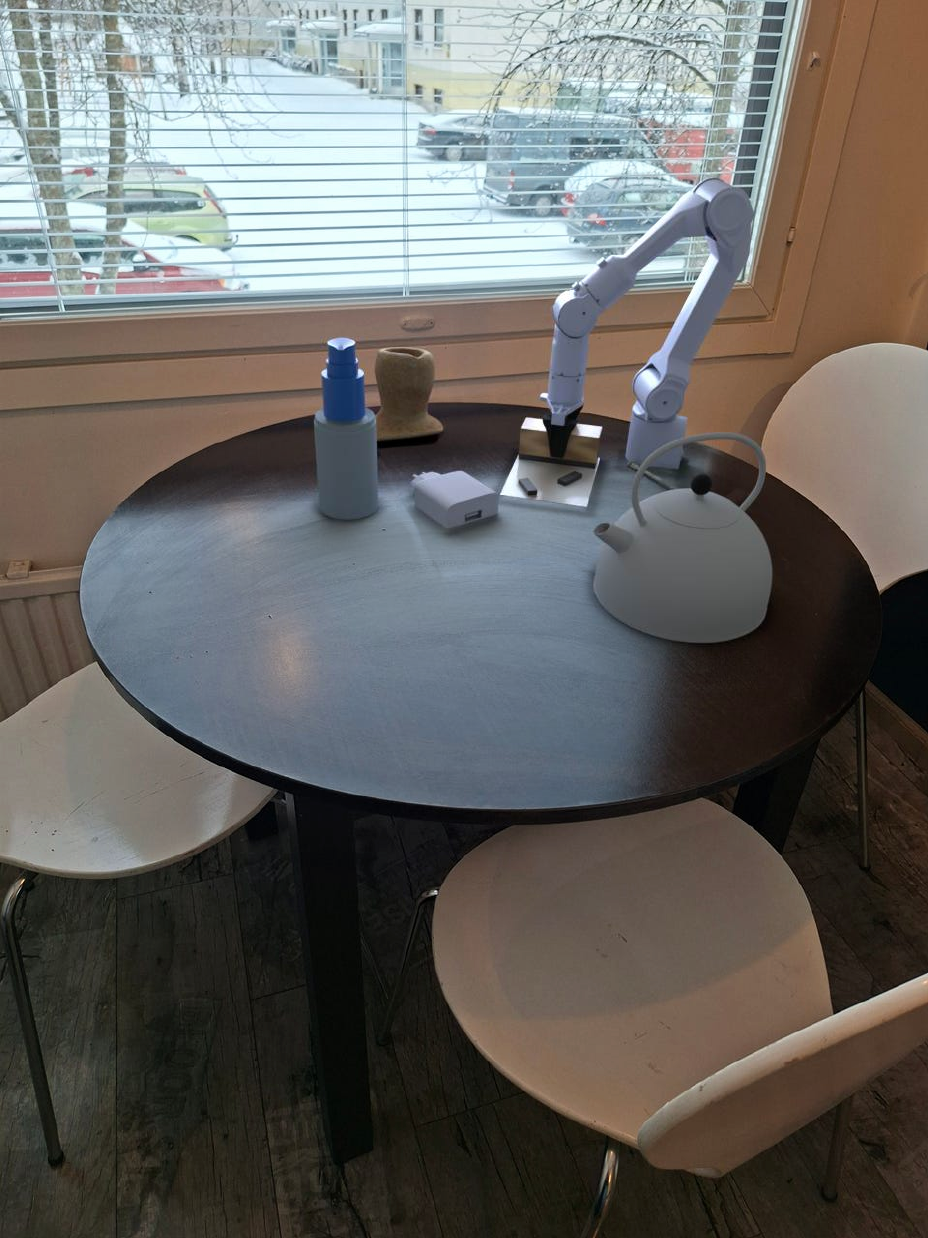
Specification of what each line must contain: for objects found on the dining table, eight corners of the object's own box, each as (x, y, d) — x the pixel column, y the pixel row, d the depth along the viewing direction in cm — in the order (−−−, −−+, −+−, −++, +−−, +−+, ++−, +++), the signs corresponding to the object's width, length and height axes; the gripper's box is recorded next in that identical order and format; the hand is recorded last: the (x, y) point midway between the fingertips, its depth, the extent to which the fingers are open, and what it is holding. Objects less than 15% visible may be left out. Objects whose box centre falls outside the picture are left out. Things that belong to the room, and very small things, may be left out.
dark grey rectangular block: (518, 483, 140) (518, 478, 139) (527, 482, 140) (527, 477, 140) (527, 495, 136) (528, 491, 136) (537, 494, 136) (537, 490, 136)
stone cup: (427, 416, 164) (428, 336, 155) (449, 441, 155) (451, 357, 146) (348, 425, 159) (345, 342, 150) (366, 451, 150) (364, 365, 141)
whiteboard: (603, 462, 150) (604, 457, 149) (590, 515, 134) (590, 509, 133) (517, 451, 152) (518, 445, 152) (494, 501, 136) (494, 495, 136)
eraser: (598, 457, 149) (602, 426, 146) (595, 469, 145) (599, 438, 142) (523, 447, 151) (525, 417, 148) (518, 458, 147) (520, 428, 144)
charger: (442, 481, 141) (497, 519, 131) (393, 494, 137) (446, 534, 127) (442, 454, 139) (499, 490, 129) (392, 466, 134) (447, 505, 124)
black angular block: (574, 475, 143) (574, 470, 142) (582, 478, 142) (582, 473, 142) (557, 483, 140) (557, 478, 140) (564, 486, 139) (565, 481, 139)
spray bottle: (327, 490, 137) (317, 329, 123) (383, 494, 137) (379, 333, 123) (313, 517, 130) (301, 349, 116) (372, 521, 129) (367, 354, 115)
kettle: (618, 656, 104) (648, 484, 91) (553, 560, 122) (570, 405, 109) (801, 630, 110) (853, 465, 97) (713, 542, 128) (747, 393, 115)
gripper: (549, 354, 146) (542, 431, 154) (535, 383, 134) (528, 464, 142) (592, 359, 145) (582, 436, 153) (581, 388, 133) (571, 470, 141)
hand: (559, 450), depth 147 cm, fingers closed on eraser, 5 cm apart
